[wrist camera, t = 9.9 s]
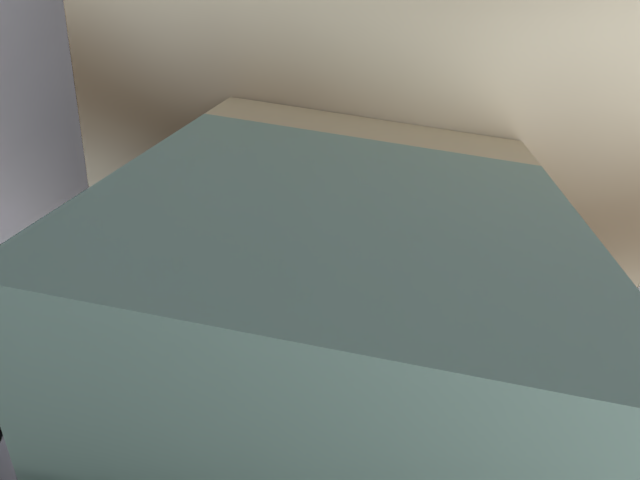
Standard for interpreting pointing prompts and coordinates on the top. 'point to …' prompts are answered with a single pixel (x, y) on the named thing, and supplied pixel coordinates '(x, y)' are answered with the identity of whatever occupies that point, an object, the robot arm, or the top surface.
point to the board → (381, 79)
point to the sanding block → (318, 313)
